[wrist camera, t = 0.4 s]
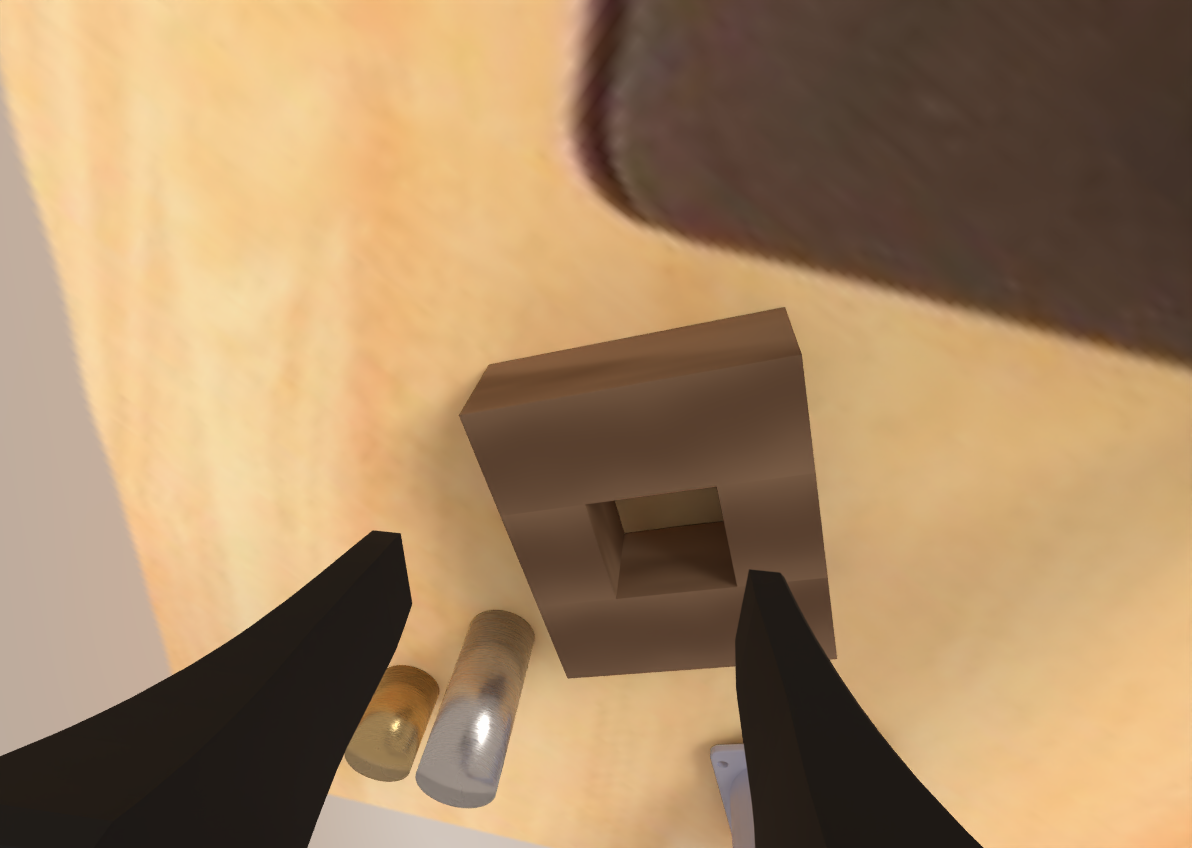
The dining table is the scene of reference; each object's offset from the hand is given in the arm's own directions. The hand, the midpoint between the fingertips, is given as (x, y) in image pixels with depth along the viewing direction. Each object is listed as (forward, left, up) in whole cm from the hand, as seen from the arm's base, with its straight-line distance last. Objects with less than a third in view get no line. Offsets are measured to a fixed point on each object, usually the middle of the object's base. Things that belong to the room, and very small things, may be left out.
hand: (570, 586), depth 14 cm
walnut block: (-5, -1, -10) cm, 11 cm away
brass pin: (-15, +14, -10) cm, 23 cm away
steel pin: (-12, +8, -10) cm, 18 cm away
